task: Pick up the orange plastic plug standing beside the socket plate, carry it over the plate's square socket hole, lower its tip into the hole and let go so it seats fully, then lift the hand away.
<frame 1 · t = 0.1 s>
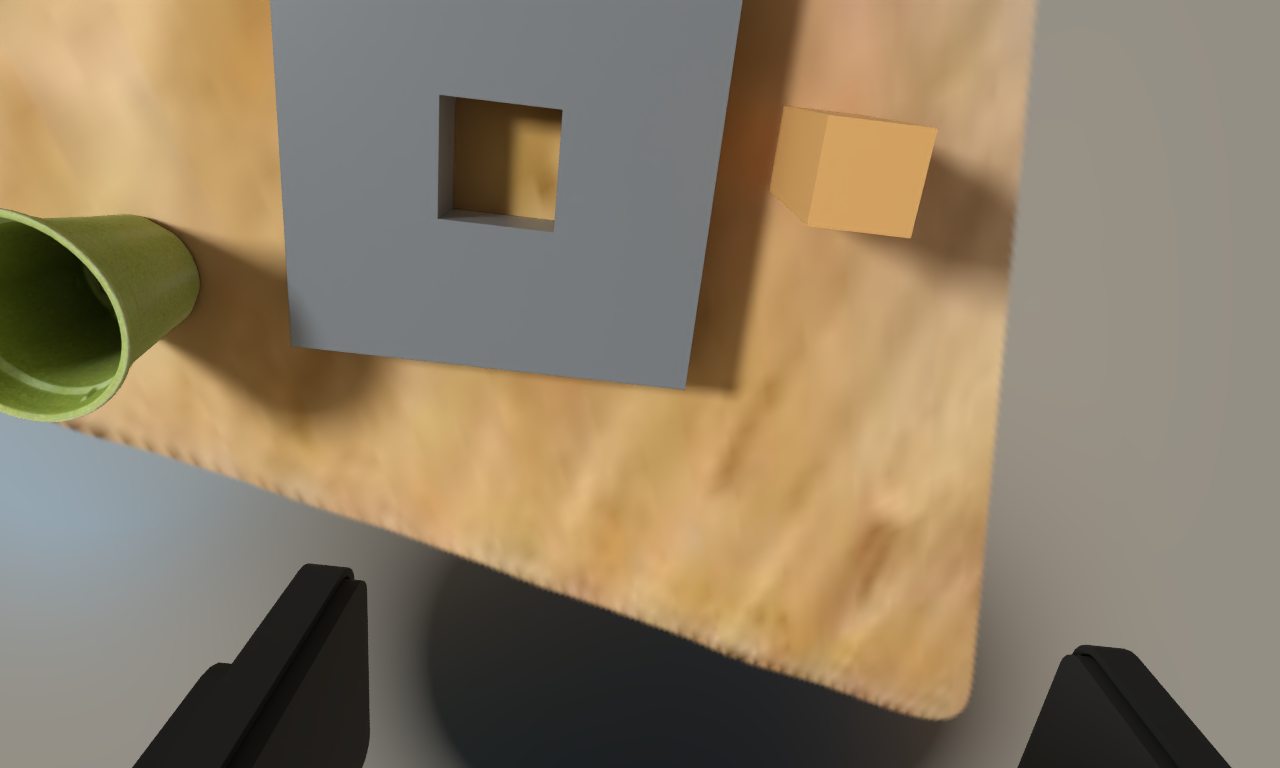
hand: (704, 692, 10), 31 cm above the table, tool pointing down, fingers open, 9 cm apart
plug: (816, 153, 37), on the table
plant pot: (145, 271, 40), on the table
socket plate: (509, 159, 38), on the table
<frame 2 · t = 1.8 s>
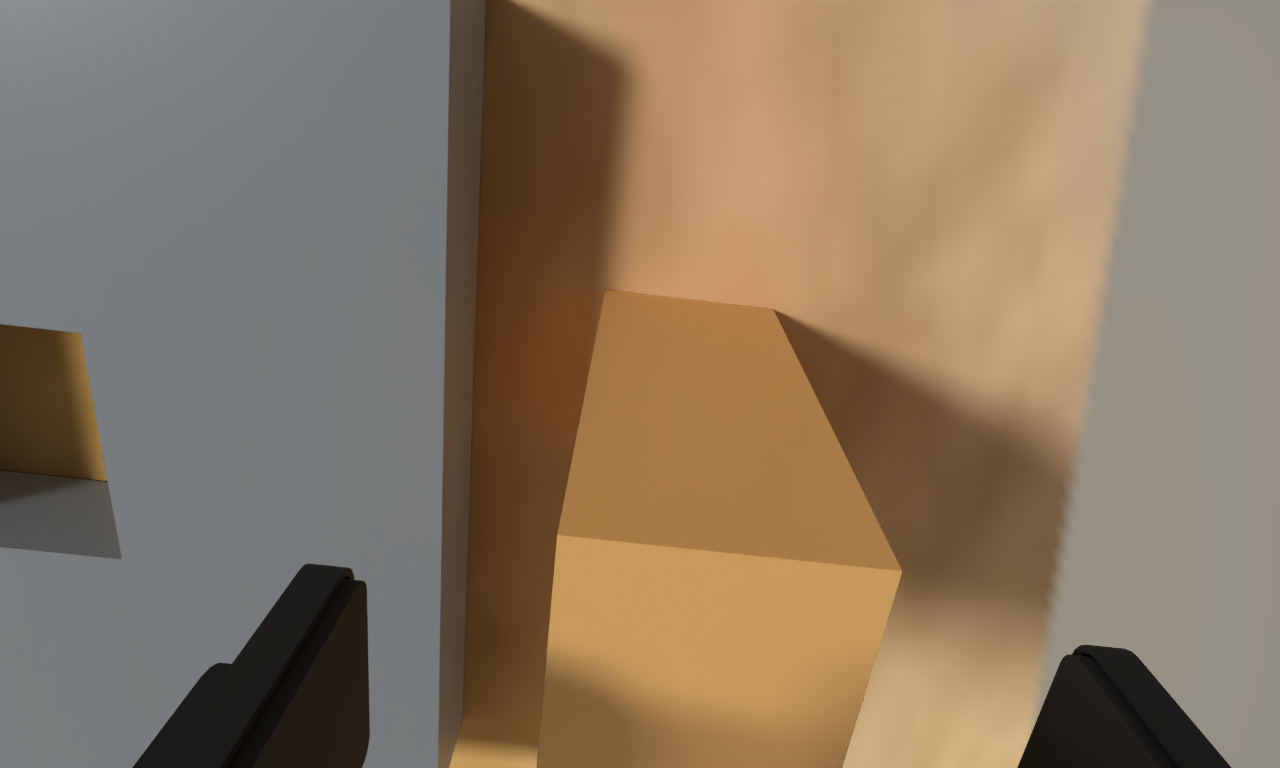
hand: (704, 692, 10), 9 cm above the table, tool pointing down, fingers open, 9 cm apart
plug: (678, 377, 19), on the table
socket plate: (69, 384, 19), on the table
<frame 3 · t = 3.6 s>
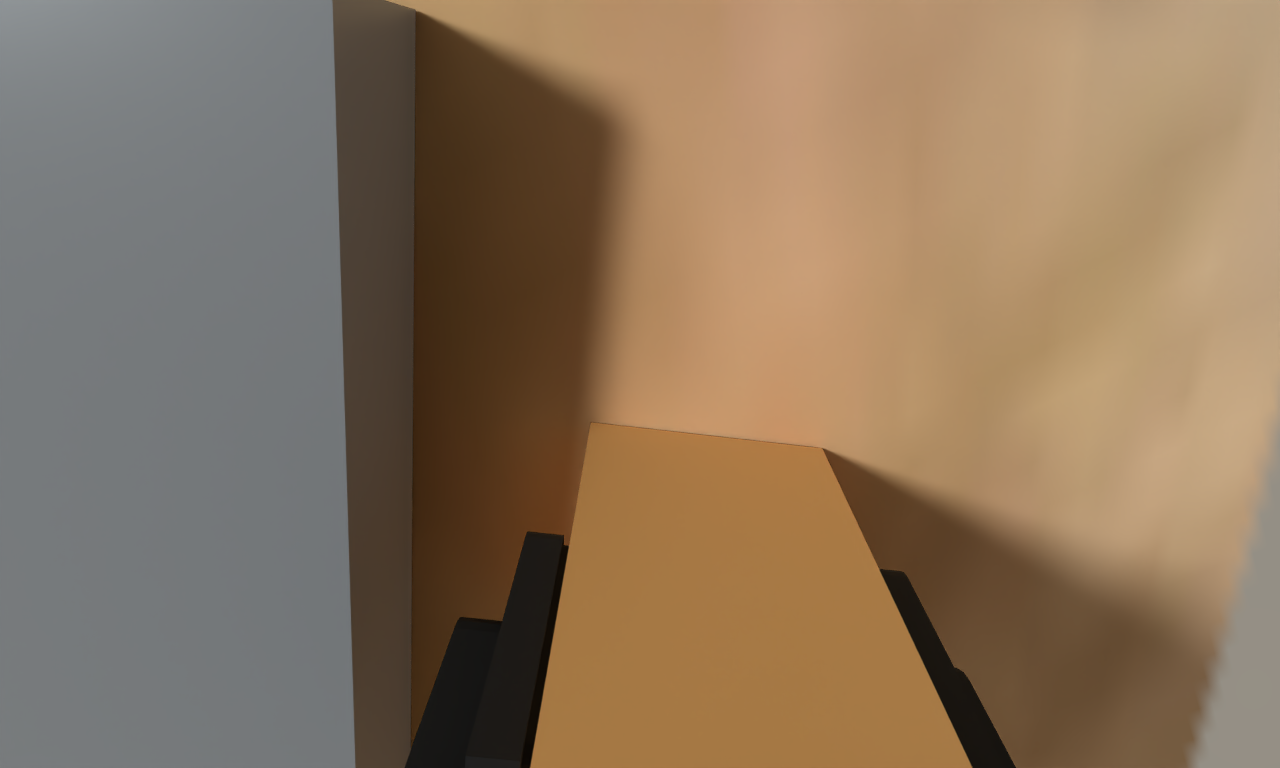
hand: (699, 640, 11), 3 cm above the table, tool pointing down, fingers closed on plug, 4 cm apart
plug: (690, 534, 14), on the table, touching gripper
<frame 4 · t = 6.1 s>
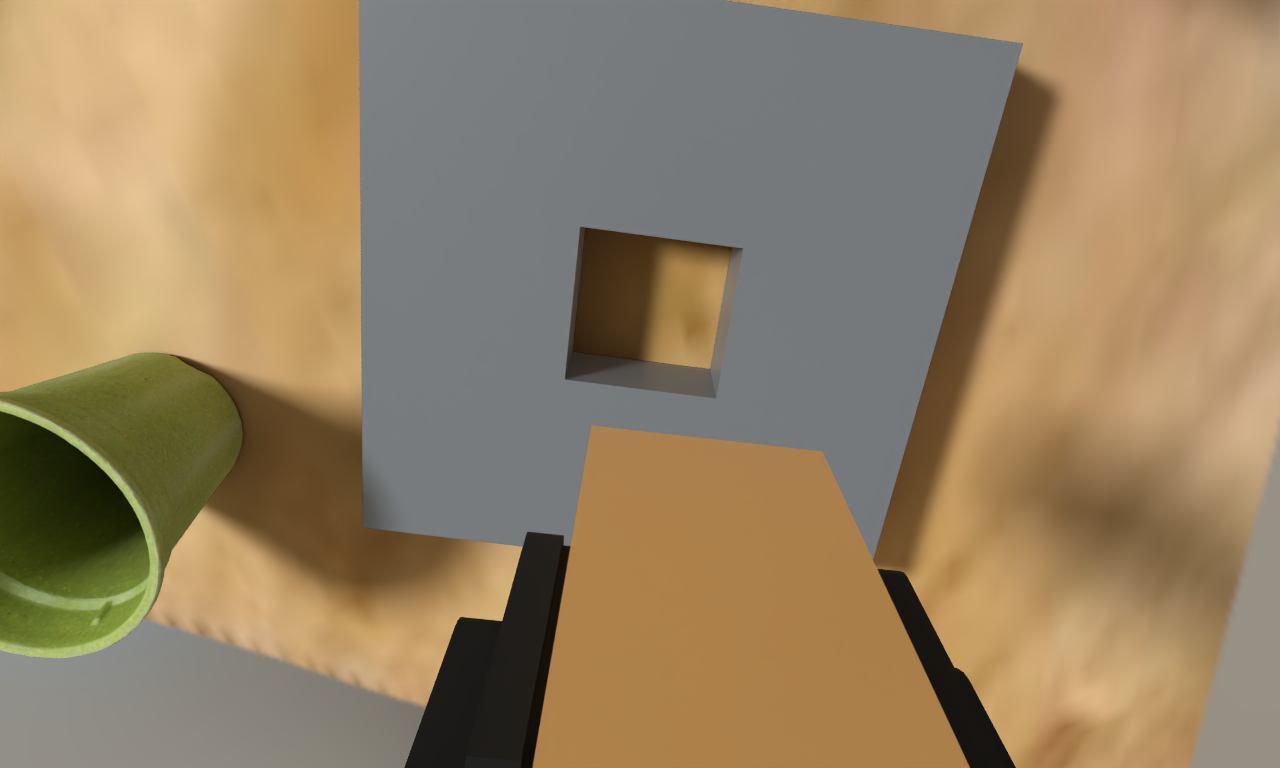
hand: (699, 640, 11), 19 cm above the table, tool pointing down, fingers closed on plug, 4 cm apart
plug: (690, 537, 14), point 17 cm above the table, touching gripper
plant pot: (172, 418, 32), on the table
socket plate: (650, 293, 29), on the table
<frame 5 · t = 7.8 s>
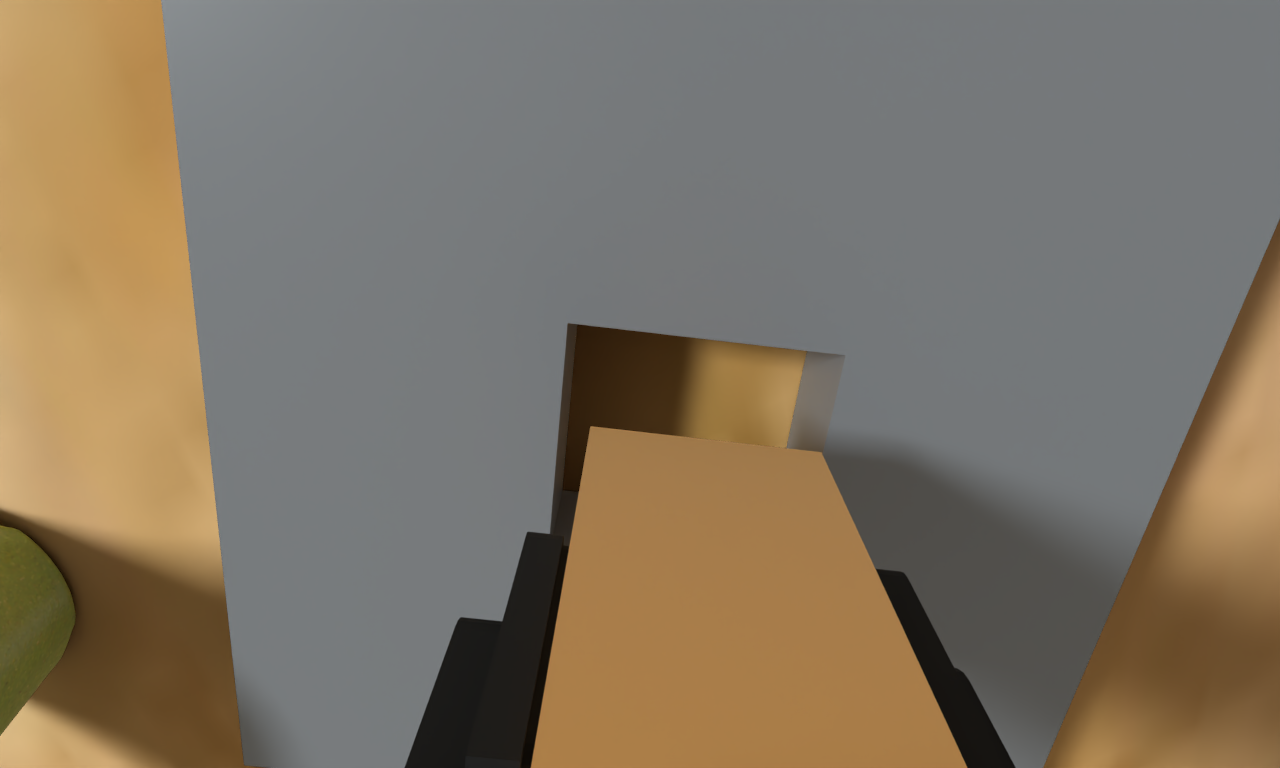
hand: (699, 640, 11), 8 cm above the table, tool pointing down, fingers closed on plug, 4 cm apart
plug: (689, 538, 14), point 5 cm above the table, touching gripper
socket plate: (682, 405, 19), on the table
when the fingers open (5 cm above the table, at t = 9.1 s): plug drops 2 cm, resting in socket plate.
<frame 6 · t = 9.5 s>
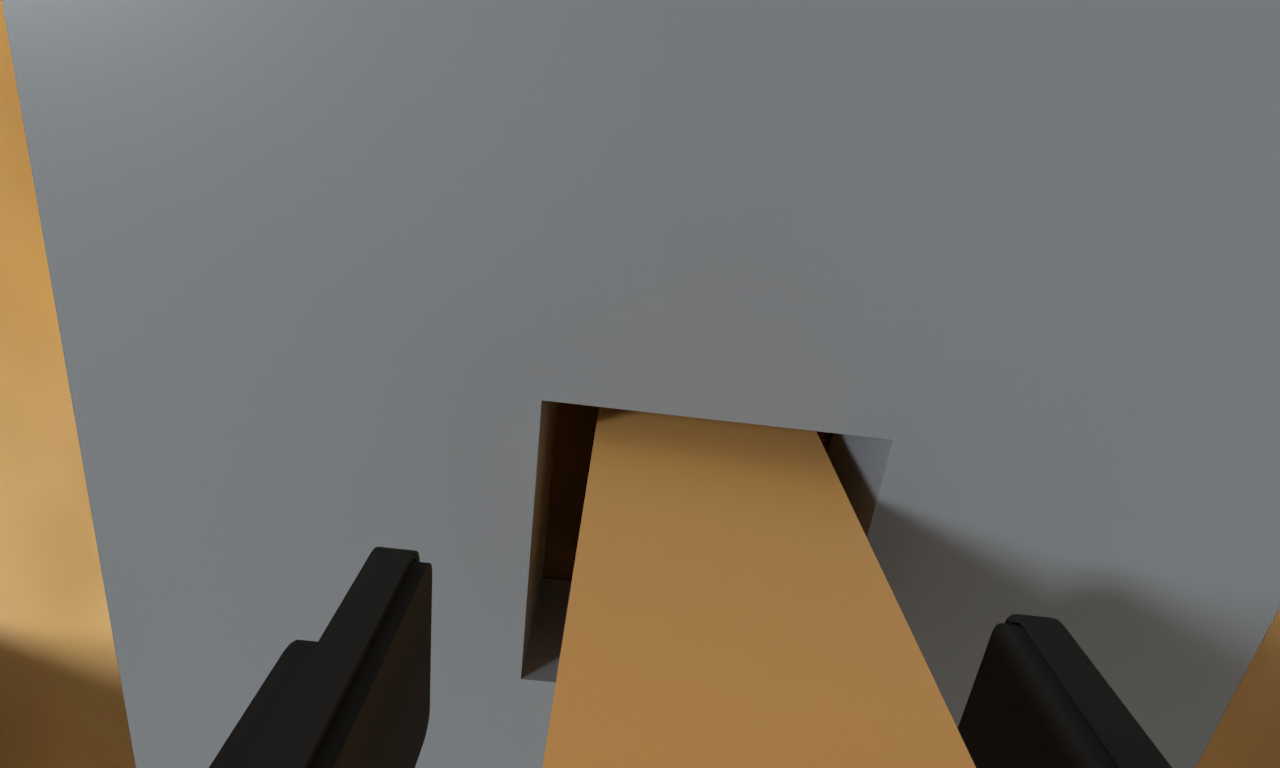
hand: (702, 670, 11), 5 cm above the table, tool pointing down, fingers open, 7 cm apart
plug: (686, 480, 16), resting in socket plate
socket plate: (685, 481, 16), on the table
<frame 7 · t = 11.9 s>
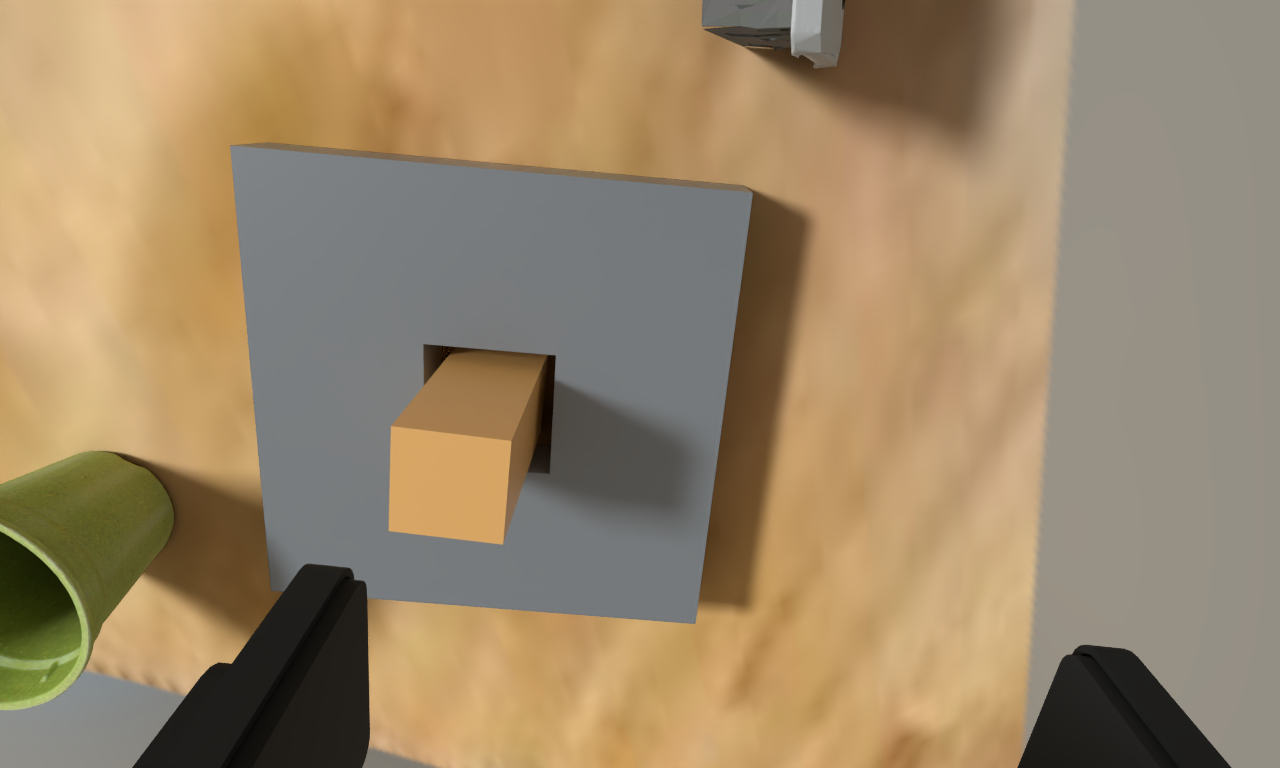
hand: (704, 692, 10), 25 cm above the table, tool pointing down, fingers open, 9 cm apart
plug: (501, 387, 35), resting in socket plate
plant pot: (116, 503, 38), on the table
socket plate: (501, 387, 35), on the table
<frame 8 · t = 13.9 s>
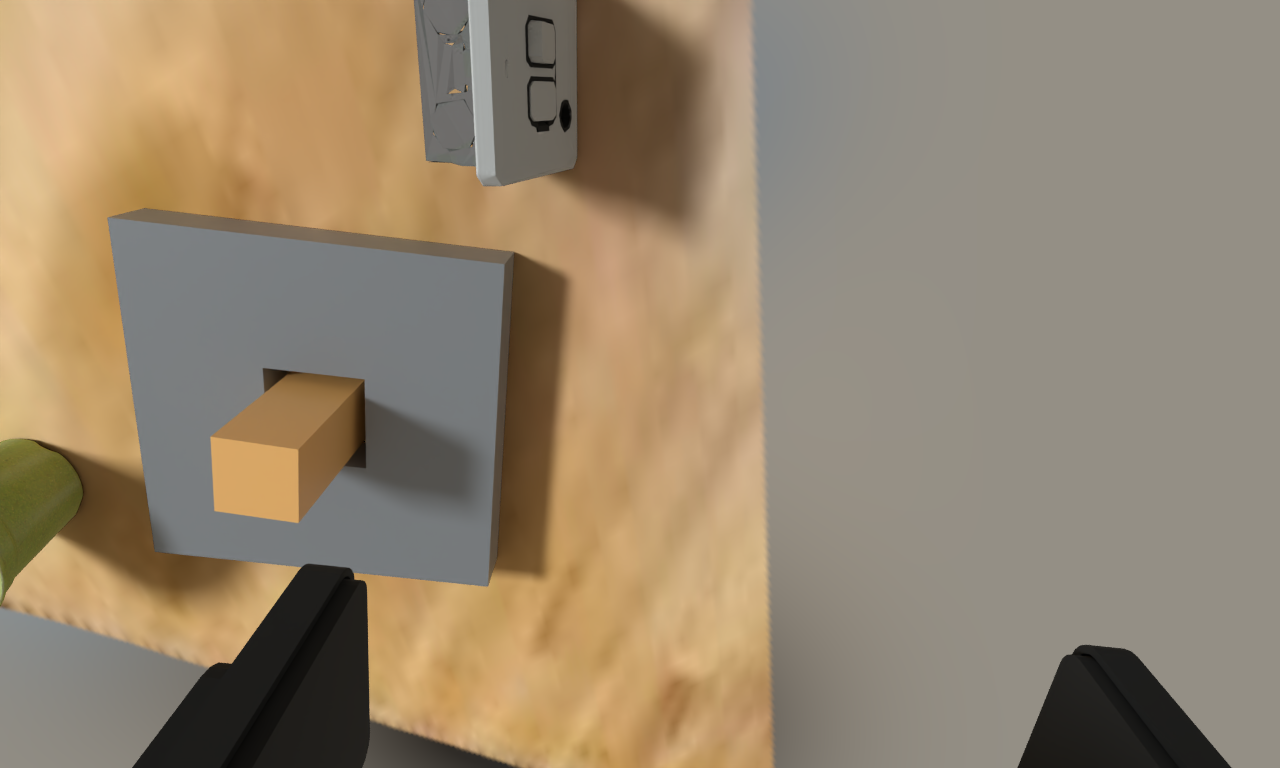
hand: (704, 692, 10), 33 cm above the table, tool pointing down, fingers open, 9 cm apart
plug: (336, 398, 45), resting in socket plate
plant pot: (37, 479, 48), on the table
electrical switch: (525, 76, 39), on the table
socket plate: (336, 398, 45), on the table
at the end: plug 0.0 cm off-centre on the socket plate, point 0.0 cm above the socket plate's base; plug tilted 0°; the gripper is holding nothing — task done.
